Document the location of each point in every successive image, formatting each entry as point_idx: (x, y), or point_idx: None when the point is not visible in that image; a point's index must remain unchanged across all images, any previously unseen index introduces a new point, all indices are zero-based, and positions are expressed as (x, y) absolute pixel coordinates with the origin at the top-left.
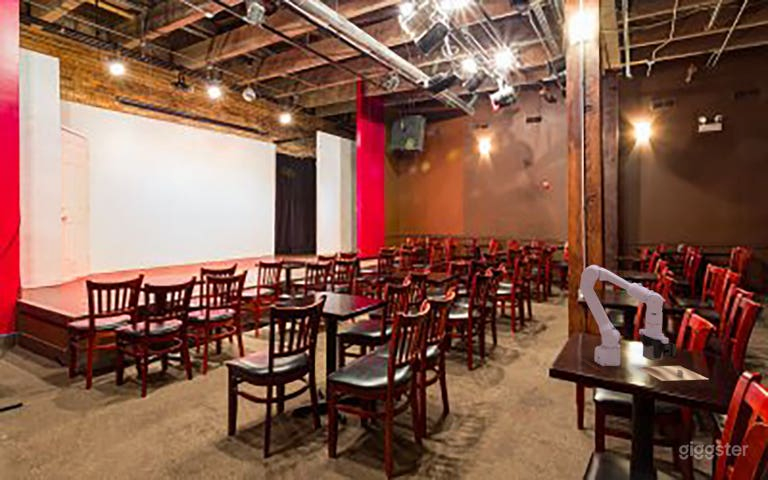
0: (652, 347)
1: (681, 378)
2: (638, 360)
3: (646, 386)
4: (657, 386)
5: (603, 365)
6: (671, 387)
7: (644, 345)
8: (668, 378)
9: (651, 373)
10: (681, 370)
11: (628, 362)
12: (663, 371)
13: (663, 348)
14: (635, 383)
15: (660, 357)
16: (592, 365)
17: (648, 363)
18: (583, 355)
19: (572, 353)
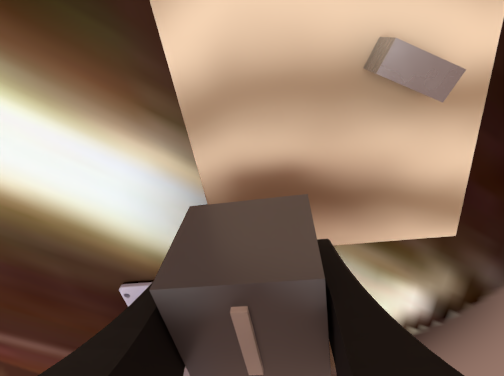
0: (258, 349)
1: (454, 90)
2: (12, 141)
3: (444, 293)
4: (459, 253)
5: None
6: (495, 196)
7: (181, 372)
8: (430, 182)
9: (329, 230)
10: (409, 49)
11: (83, 215)
12: (295, 141)
13: (395, 329)
14: (399, 313)
15: (331, 243)
16: None
17: (55, 105)
18: (50, 340)
19: (40, 361)
